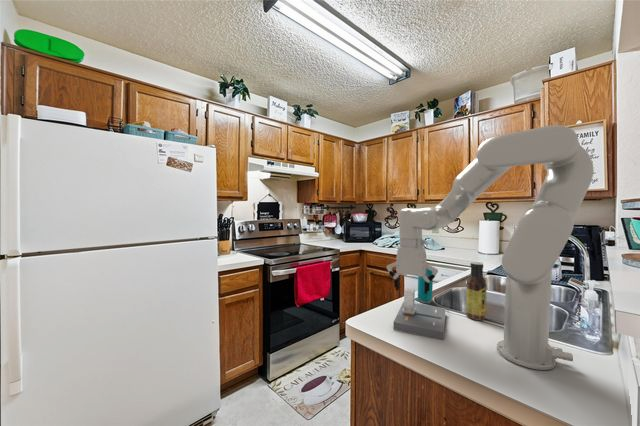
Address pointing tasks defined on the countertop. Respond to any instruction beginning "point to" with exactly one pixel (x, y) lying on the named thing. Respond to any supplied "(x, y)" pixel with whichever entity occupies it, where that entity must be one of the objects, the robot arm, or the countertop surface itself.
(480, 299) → the sauce bottle
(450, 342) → the countertop surface
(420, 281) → the beverage can
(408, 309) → the slide lever
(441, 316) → the panel
